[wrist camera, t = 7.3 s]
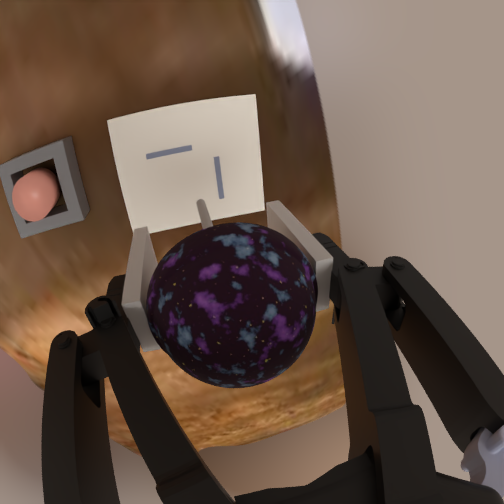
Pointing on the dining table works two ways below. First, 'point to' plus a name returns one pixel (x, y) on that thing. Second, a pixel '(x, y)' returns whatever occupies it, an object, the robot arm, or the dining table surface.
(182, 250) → the lollipop
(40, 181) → the button
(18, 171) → the button housing
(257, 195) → the paper pad
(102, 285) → the dining table surface
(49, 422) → the robot arm
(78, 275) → the dining table surface
